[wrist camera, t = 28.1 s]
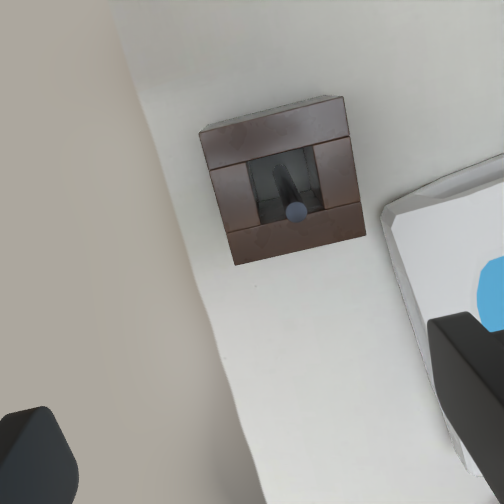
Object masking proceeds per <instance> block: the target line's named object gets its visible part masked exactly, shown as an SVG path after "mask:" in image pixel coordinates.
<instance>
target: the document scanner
mask: <svg viewBox="0 0 504 504" xmlns="http://www.w3.org/2000/svg"><path fill="white" fill-rule="evenodd" d="M380 220H381V223H382V227H383V231H384V234H385V238H386V242H387V246H388V249H389V253H390V257H391V260H392V264H393V268H394V271H395V275H396V278H397V281H398V285H399V288H400V291H401V294H402V297H403V300H404V303H405V306H406V309H407V312H408V316H409V319H410V322H411V325H412V328H413V331H414V334H415V337H416V340H417V343H418V346H419V350H420V353H421V356H422V359H423V362H424V365H425V368H426V371H427V374H428V377H429V380H430V384H431V387H432V389H433V391H434V393H435V395H436V397H437V394H436V390H435V385H434V379H433V371H432V364H431V356H430V349H429V341H428V334H427V322H428V320H429V319H433V318H437V317H442V316H446V315H451V314H455V313H460V312H464V311H468V312H470V313H471V314H472V315H473V316H474V317H475V318H476V319H477V320H478V321H479V322H480V323H481V324H482V325H483V326H484V327H485V328H486V329H487V330H488V331H489V332H495V331H499V330H504V154H502V155H499V156H497V157H494V158H491V159H489V160H486V161H484V162H481V163H479V164H476V165H473V166H471V167H468V168H466V169H463V170H460V171H458V172H455V173H453V174H450V175H447V176H445V177H443V178H441V179H439V180H437V181H435V182H433V183H430V184H428V185H426V186H424V187H422V188H420V189H418V190H416V191H414V192H412V193H410V194H408V195H406V196H404V197H402V198H400V199H398V200H396V201H394V202H392V203H389V204H387V205H385V207H384V210H383V212H382V215H381V217H380ZM437 399H438V397H437ZM438 402H439V400H438ZM439 405H440V402H439ZM440 408H441V411H442V414H443V417H444V420H445V423H446V426H447V429H448V432H449V434H450V437H451V440H452V443H453V446H454V449H455V452H456V453H457V455H458V457H459V458H460V460H461V462H462V464H463V465H464V467H465V469H466V470H467V472H468V473H470V474H472V475H474V476H476V477H483V475H482V473H481V472H480V470H479V469H478V467H477V465H476V464H475V462H474V461H473V459H472V457H471V456H470V454H469V453H468V451H467V449H466V448H465V446H464V444H463V443H462V441H461V440H460V438H459V436H458V435H457V433H456V432H455V430H454V428H453V427H452V425H451V424H450V422H449V420H448V419H447V417H446V415H445V414H444V412H443V410H442V407H441V405H440Z"/></svg>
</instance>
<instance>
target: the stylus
mask: <svg viewBox="0 0 504 504" xmlns="http://www.w3.org/2000/svg"><path fill="white" fill-rule="evenodd" d="M273 176H274V179H275V182H276V185H277V189H278V192H279V195H280V198H281V201H282V205H283V208H284V211H285V214H286V217H287V219H288V220H289V221H291V222H293V223H299V222H301V221H303V220H304V219H305V218H306V216H307V208H306V206H305V204H304V202H303V200H302V198H301V196H300V194H299V192H298V190H297V188H296V186H295V184H294V182H293V180H292V178H291V176H290V174H289V172H288V170H287V168H286V167H285V166H284V165H277V166H275V167H274V169H273Z"/></svg>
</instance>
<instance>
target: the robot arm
mask: <svg viewBox="0 0 504 504" xmlns="http://www.w3.org/2000/svg"><path fill="white" fill-rule="evenodd" d="M427 334H428V341H429V349H430V356H431V364H432V371H433V379H434V385H435V390H436V394H437V397H438V400H439V402H440V405H441V407H442V410H443V412H444V414H445V415H446V417H447V419H448V420H449V422H450V424H451V425H452V427H453V428H454V430H455V432H456V433H457V435H458V436H459V438H460V440H461V441H462V443H463V444H464V446H465V448H466V449H467V451H468V453H469V454H470V456H471V457H472V459H473V461H474V462H475V464H476V465H477V467H478V469H479V470H480V472H481V473H482V475H483V477H484V478H485V480H486V481H487V483H488V485H489V486H490V488H491V490H492V491H493V493H494V494H495V496H496V498H497V499H498V501H499V502H500V504H504V330H499V331H495V332H489V331H488V330H487V329H486V328H485V327H484V326H483V325H482V324H481V323H480V322H479V321H478V320H477V319H476V318H475V317H474V316H473V315H472V314H471V313H470V312H468V311H464V312H460V313H455V314H451V315H446V316H442V317H437V318H433V319H429V320H428V322H427ZM78 482H79V473H78V466H77V463H76V460H75V458H74V456H73V454H72V451H71V449H70V447H69V445H68V443H67V441H66V439H65V437H64V435H63V433H62V431H61V429H60V427H59V425H58V423H57V421H56V419H55V417H54V415H53V413H52V411H51V410H50V409H49V408H47V407H45V406H40V407H36V408H32V409H28V410H23V411H18V412H14V413H9V414H7V415H5V416H4V417H3V418H2V419H1V421H0V504H72V502H73V500H74V498H75V495H76V492H77V488H78Z"/></svg>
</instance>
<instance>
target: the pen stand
mask: <svg viewBox="0 0 504 504" xmlns="http://www.w3.org/2000/svg"><path fill="white" fill-rule="evenodd" d="M349 135H350V133H349V127H348V121H347V115H346V109H345V103H344V97H343V96H332V95H323V96H319V97H315V98H311V99H307V100H303V101H299V102H295V103H292V104H288V105H284V106H280V107H276V108H272V109H268V110H264V111H260V112H256V113H252V114H248V115H244V116H240V117H236V118H233V119H229V120H225V121H221V122H217V123H213V124H209V125H207V126H206V127H205V128H204V129H203V130H202V131H200V132H199V137H200V141H201V144H202V148H203V152H204V155H205V159H206V163H207V166H208V170H209V174H210V177H211V181H212V184H213V188H214V192H215V195H216V199H217V203H218V206H219V210H220V214H221V217H222V221H223V224H224V228H225V232H226V235H227V239H228V243H229V246H230V250H231V254H232V257H233V261H234V264H235V265H240V264H245V263H249V262H253V261H258V260H262V259H266V258H271V257H275V256H279V255H284V254H288V253H292V252H297V251H301V250H305V249H310V248H314V247H318V246H323V245H327V244H331V243H336V242H340V241H344V240H349V239H353V238H357V237H362V236H366V230H365V224H364V218H363V212H362V206H361V202H360V194H359V188H358V182H357V175H356V169H355V163H354V157H353V151H352V145H351V139H350V136H349ZM298 148H303V150H304V155H305V160H306V165H307V170H308V175H309V180H310V185H311V189H312V190H308V191H304V192H300V193H299V194H300V196H301V198H302V200H303V202H304V204H305V206H306V208H307V216H306V218H305V219H304V220H303V221H301V222H299V223H293V222H291V221H289V220H288V219H287V217H286V214H285V211H284V208H283V205H282V201H281V198H280V197H279V198H275V199H270V200H266V201H262V202H258V197H257V193H256V189H255V185H254V181H253V177H252V173H251V169H250V165H249V161H250V160H254V159H258V158H262V157H266V156H270V155H274V154H278V153H282V152H286V151H290V150H294V149H298Z"/></svg>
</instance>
